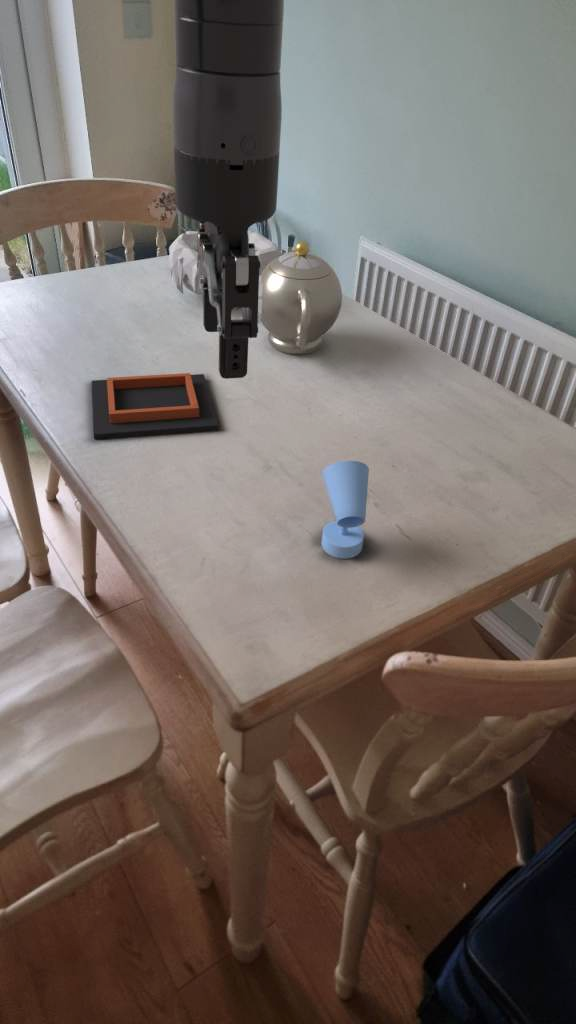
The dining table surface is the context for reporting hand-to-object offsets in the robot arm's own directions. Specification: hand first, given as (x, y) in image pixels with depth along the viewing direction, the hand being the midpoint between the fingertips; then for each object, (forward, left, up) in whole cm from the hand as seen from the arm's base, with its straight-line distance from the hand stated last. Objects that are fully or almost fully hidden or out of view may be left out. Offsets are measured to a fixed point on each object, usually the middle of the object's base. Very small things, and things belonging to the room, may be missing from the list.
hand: (224, 352), depth 59 cm
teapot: (+19, +45, -24) cm, 54 cm away
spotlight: (+13, -1, -24) cm, 27 cm away
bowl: (+11, +67, -24) cm, 72 cm away
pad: (-5, +30, -23) cm, 39 cm away
